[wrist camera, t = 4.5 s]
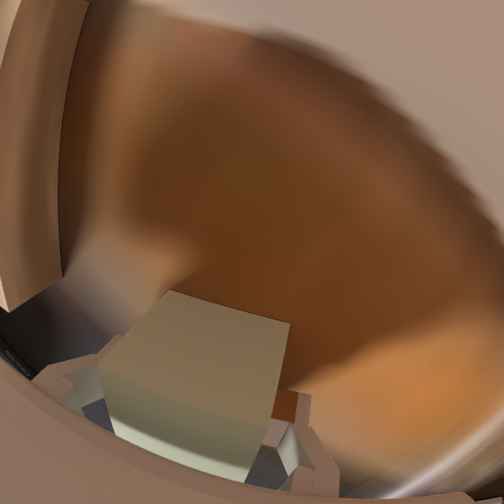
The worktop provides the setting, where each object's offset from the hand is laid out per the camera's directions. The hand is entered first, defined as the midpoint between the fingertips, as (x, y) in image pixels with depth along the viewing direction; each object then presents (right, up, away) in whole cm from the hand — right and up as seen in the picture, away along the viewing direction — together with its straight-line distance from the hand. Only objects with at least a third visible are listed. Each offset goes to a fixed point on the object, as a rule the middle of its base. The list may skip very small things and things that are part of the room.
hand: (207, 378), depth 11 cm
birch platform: (-15, +12, +1) cm, 19 cm away
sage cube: (0, +1, +1) cm, 2 cm away
